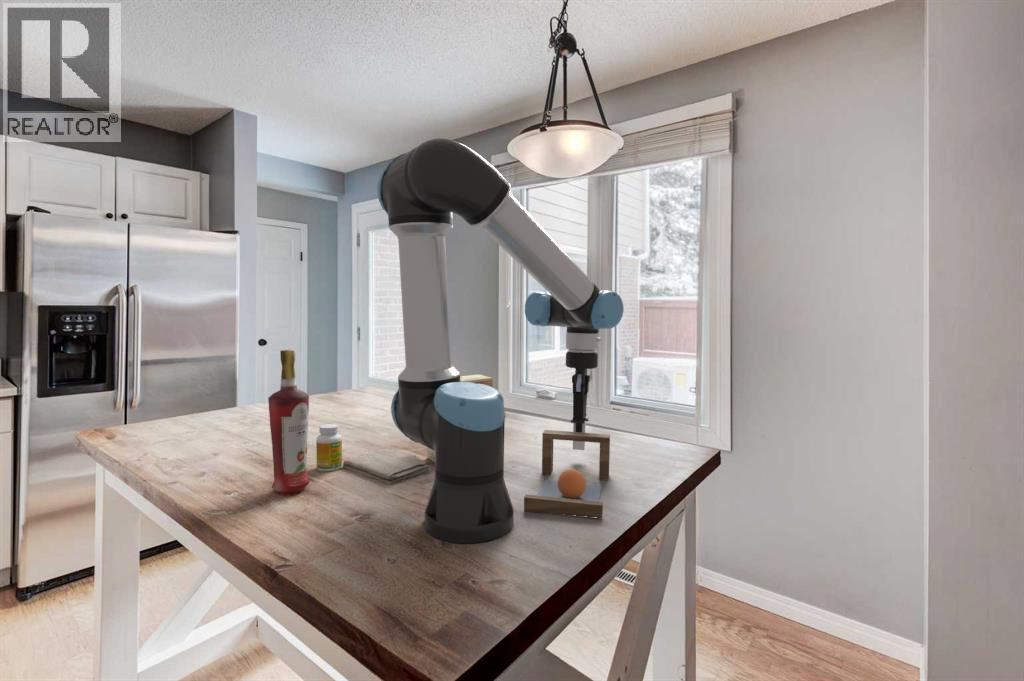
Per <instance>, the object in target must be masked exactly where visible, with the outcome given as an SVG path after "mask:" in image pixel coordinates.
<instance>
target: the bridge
mask: <svg viewBox="0 0 1024 681" xmlns="http://www.w3.org/2000/svg"><path fill="white" fill-rule="evenodd" d="M554 440H555V441H556V440H559V441H572V442H573V441H583V442H585V443H587V442H588V443H598V444H599V463H598V464H599V466H598V468H599V470H598V472H599V473H598V479H599V480H603V479H609V478H610V458H611V456H610V452H611V445H610V444H611V434H610V433H608V434H607V433H597V432H596V433H594V432H585V433H583V432H573V431H569V430H568V431H565V430H552V429H551V430H549V429H544V431H543V432H542V440H541V441H542V446H541V447H542V449H541V455H542V456H541V474H542V475H548V476H550V475H552V473H553V471H554Z"/></svg>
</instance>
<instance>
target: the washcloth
mask: <svg viewBox="0 0 1024 681" xmlns="http://www.w3.org/2000/svg"><path fill="white" fill-rule="evenodd" d="M429 467H430V466H429V465H428V464H427V461H426V460H423V459H420V458H418V457H417V455H416V454H407V453H405V452H402V451H399V450H394V449H390V448H383V449H379V450H374V451H373V452H370V453H368V454H365V455H359V456H356V457H351V458H349V459H346V460H345V461H343V462H342V468H344V469H346V468H347V470H349V469H350V471H351V470H352V471H351V472H354V471H355V473H357V472H358V474H359V473H360V475H363V476H365V475H366V477H369V478H371V479H375V480H377V481H380V482H382V483H385V484H387V485H392V484H393V483H394V484H395V483H400V482H403V481H405V480H410V479H411V478H414V477H417V476H421V475H423V474H426V473H429V472H430V471H431V468H429ZM420 474H421V475H420Z"/></svg>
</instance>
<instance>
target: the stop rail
mask: <svg viewBox="0 0 1024 681" xmlns="http://www.w3.org/2000/svg"><path fill="white" fill-rule="evenodd" d="M603 506H604V501H599V502H596V501H587V500H577V499H567V498H557V497H547V496H537V494H535V495H534V494H527V493H526V494H525V496H524V497H523V511H524V512H530V511H534V512H533V513H539V512H544V513H543V514H548V513H552V514H551V515H558V514H565V515H564V516H567V515H576V516H587V517H597V518H602V519H603V516H602V515H603V510H604V509H603ZM576 516H575V517H576Z"/></svg>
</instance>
